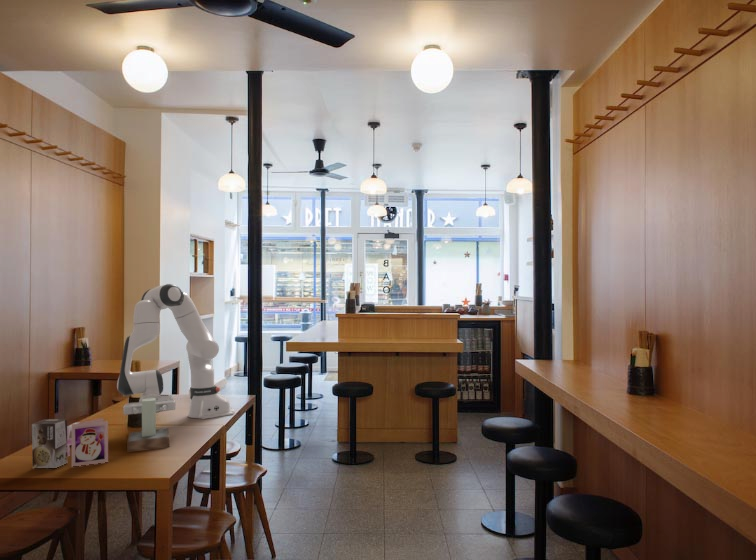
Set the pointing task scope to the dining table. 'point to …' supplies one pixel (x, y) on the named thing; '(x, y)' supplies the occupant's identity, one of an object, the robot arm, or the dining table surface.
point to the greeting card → (90, 442)
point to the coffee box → (49, 443)
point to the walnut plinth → (148, 440)
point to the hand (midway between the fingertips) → (149, 410)
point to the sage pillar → (148, 417)
